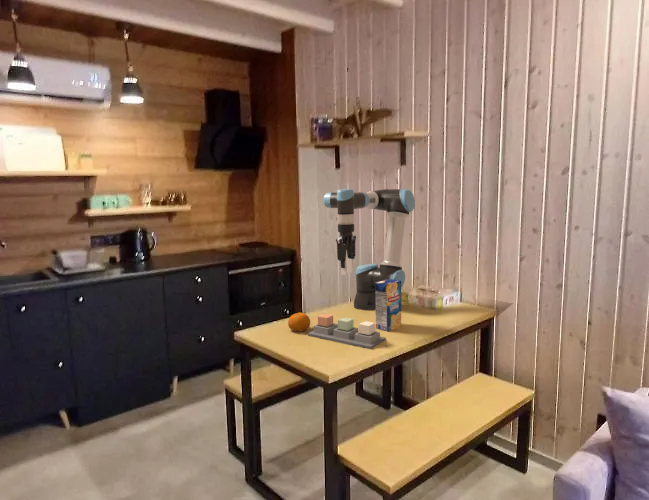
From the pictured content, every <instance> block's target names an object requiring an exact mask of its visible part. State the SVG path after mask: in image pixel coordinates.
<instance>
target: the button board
mask: <svg viewBox="0 0 649 500" xmlns="http://www.w3.org/2000/svg"><path fill="white" fill-rule="evenodd" d="M307 336H308V337H311V338H317V339H322V340H325V341H326V340H327V341H331V342H335V343H340V344H344V345H348V346H352V347H359V348H363V349H367V350H372V349H374V348H375V347H377V346H379V345H380V344H382V343H384V342H385V341H386V340H387V338H386V337H384V336H381V332H380V331H376V330H375V332H374V333H372V334H370V335H366V334H361V333H359V327H355V326H354V328H352V329H350V330H348V331H346V330H341V329H338V323H334V322H333V324H332V325H330V326H327V327H326V326H321V325H318V323H317V324H314V325H313V330H312V331H309V332H307Z"/></svg>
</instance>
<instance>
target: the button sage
mask: <svg viewBox="0 0 649 500" xmlns="http://www.w3.org/2000/svg"><path fill="white" fill-rule="evenodd" d="M337 324H338V329H341V330H346V331H348V330H350V329H352V328H354V327H355V325H354V318H350V317H342V318H340V319H338V320H337Z"/></svg>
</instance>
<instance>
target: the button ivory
mask: <svg viewBox="0 0 649 500" xmlns="http://www.w3.org/2000/svg"><path fill="white" fill-rule="evenodd" d="M375 331H376V322H372V321H366V320H365V321H363V322H361V323H359V324H358V332H359V333H361V334H366V335H370V334H372V333H374V332H375Z"/></svg>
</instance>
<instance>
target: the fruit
mask: <svg viewBox="0 0 649 500" xmlns="http://www.w3.org/2000/svg"><path fill="white" fill-rule="evenodd" d="M287 324H288V325H287V326H288V328H289V329H290V330H291V331H294V332H303V331H306V330H308V329H309V328H310V326H311V319H310V317H309V315H307V314H306V313H303V312H297V313H293V314H292V315H291V316H290V317H289V318H288V320H287Z"/></svg>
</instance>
